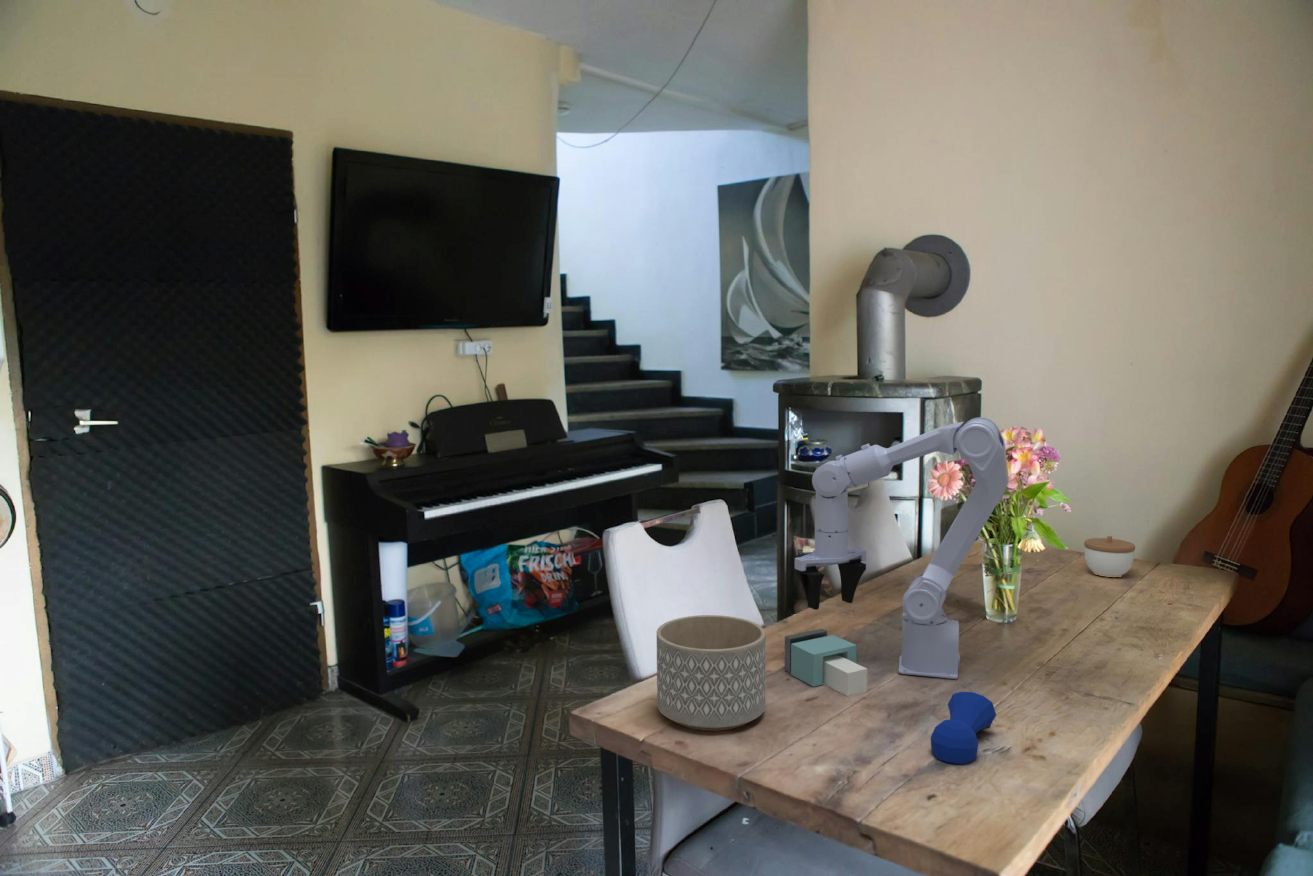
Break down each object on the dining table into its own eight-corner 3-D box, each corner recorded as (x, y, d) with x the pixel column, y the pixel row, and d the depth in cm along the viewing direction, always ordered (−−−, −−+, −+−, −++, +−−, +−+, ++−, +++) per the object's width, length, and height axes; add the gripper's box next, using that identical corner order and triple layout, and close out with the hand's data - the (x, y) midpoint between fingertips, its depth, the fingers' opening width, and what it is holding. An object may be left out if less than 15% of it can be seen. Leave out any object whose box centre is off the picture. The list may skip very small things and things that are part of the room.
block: (856, 676, 149) (856, 645, 148) (813, 686, 144) (813, 654, 144) (832, 665, 154) (833, 634, 153) (790, 674, 150) (791, 643, 149)
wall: (827, 664, 155) (827, 631, 154) (789, 672, 151) (790, 638, 150) (821, 661, 156) (821, 628, 155) (784, 670, 152) (784, 636, 151)
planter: (734, 746, 124) (734, 658, 123) (636, 720, 133) (635, 638, 131) (782, 704, 138) (783, 625, 136) (691, 683, 147) (690, 609, 145)
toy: (951, 723, 132) (921, 759, 120) (952, 682, 132) (923, 714, 119) (999, 733, 129) (973, 772, 116) (1000, 691, 128) (975, 725, 116)
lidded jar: (1091, 580, 206) (1092, 540, 205) (1077, 568, 217) (1078, 530, 216) (1140, 581, 204) (1142, 541, 203) (1124, 569, 215) (1126, 531, 214)
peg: (866, 692, 143) (867, 668, 142) (847, 697, 141) (847, 673, 140) (827, 672, 151) (827, 650, 151) (808, 676, 150) (808, 653, 149)
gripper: (848, 521, 163) (847, 593, 164) (784, 530, 156) (783, 605, 158) (874, 528, 157) (873, 603, 158) (809, 537, 150) (808, 615, 151)
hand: (830, 604), depth 158 cm, fingers open, 7 cm apart
